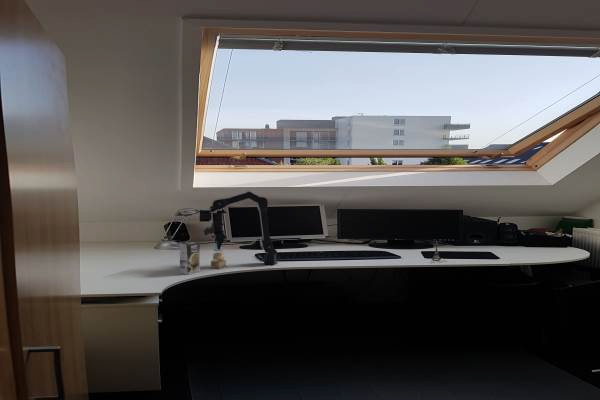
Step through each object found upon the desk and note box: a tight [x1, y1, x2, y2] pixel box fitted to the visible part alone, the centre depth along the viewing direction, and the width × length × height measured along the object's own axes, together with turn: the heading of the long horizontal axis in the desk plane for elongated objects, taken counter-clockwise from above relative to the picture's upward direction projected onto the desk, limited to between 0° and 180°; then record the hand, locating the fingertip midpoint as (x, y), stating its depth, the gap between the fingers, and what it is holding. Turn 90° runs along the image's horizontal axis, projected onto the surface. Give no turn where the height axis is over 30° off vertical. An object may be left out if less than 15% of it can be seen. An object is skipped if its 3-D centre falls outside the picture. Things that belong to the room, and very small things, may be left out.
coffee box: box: [179, 240, 201, 275], centre depth 235 cm, size 9×6×16 cm
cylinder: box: [213, 242, 223, 252], centre depth 247 cm, size 4×4×4 cm
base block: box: [210, 259, 227, 270], centre depth 247 cm, size 6×6×4 cm
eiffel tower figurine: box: [429, 241, 448, 264], centre depth 269 cm, size 15×10×13 cm
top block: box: [212, 252, 225, 262], centre depth 247 cm, size 5×5×4 cm
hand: (217, 248), depth 247 cm, fingers closed on cylinder, 4 cm apart
